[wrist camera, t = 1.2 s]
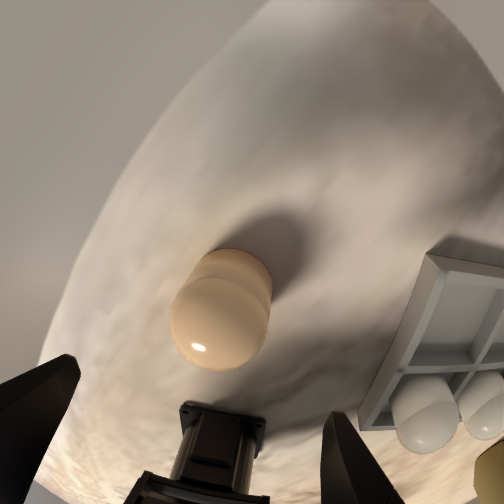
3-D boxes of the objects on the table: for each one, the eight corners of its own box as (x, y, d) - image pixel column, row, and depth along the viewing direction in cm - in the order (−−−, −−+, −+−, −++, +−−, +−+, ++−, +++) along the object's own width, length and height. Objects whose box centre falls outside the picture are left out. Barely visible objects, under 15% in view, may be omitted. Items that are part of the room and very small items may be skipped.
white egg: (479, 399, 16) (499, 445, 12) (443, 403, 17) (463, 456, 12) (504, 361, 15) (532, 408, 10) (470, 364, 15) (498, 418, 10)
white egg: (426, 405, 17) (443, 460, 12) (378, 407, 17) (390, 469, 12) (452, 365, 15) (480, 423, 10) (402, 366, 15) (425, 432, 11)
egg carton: (479, 402, 17) (485, 417, 16) (357, 411, 18) (359, 431, 16) (549, 277, 12) (562, 288, 11) (425, 253, 13) (439, 268, 12)
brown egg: (267, 324, 16) (256, 398, 11) (192, 312, 16) (159, 378, 11) (277, 254, 14) (270, 318, 9) (193, 242, 15) (149, 297, 10)
